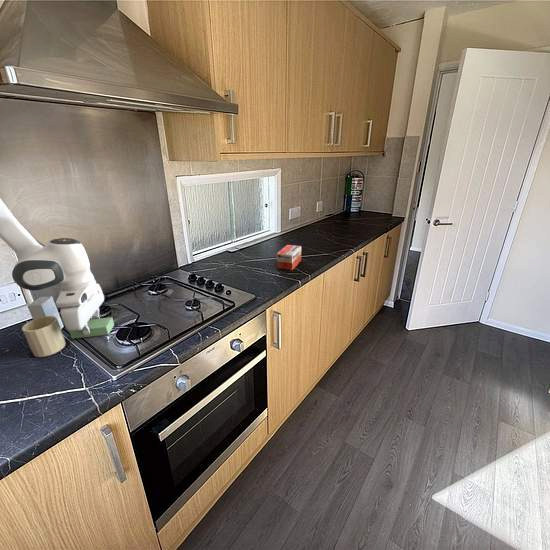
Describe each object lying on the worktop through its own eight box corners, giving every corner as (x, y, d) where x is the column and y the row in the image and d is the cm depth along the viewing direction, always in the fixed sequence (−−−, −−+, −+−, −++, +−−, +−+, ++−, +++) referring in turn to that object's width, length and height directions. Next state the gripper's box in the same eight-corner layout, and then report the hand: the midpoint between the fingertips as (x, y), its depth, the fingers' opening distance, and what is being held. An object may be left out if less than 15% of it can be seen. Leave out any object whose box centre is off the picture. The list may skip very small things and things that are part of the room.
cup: (27, 358, 85) (15, 332, 82) (42, 342, 92) (32, 317, 89) (57, 355, 86) (47, 329, 83) (70, 338, 94) (61, 314, 90)
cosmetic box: (51, 328, 100) (38, 296, 95) (64, 327, 100) (52, 295, 96) (40, 338, 94) (26, 305, 90) (54, 337, 95) (41, 304, 90)
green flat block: (71, 338, 94) (68, 330, 92) (79, 328, 99) (77, 320, 98) (108, 334, 95) (106, 326, 94) (114, 324, 101) (112, 317, 100)
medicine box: (292, 270, 141) (292, 255, 138) (276, 268, 144) (276, 253, 140) (301, 260, 154) (301, 245, 150) (287, 258, 156) (286, 244, 153)
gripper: (83, 277, 100) (94, 312, 105) (52, 305, 81) (67, 346, 87) (103, 275, 101) (113, 310, 106) (76, 303, 82) (90, 344, 88)
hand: (92, 327), depth 96 cm, fingers closed on green flat block, 6 cm apart
